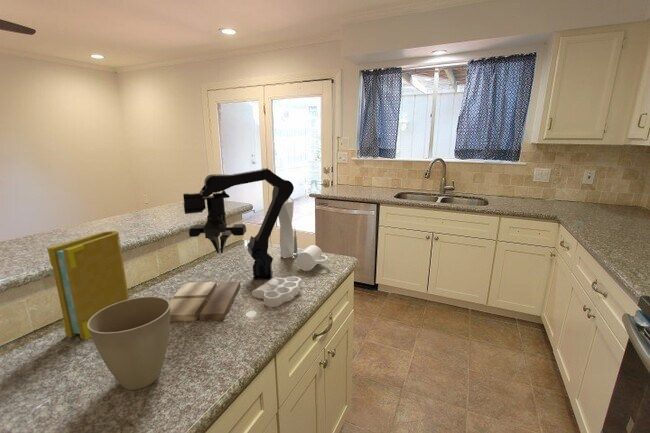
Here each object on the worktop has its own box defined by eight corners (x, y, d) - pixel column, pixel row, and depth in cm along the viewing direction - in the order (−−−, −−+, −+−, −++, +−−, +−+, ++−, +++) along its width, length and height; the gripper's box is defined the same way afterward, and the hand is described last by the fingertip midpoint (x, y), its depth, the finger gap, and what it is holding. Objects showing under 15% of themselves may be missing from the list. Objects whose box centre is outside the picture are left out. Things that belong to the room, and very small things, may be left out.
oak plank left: (206, 303, 102) (205, 297, 101) (195, 320, 92) (194, 314, 92) (171, 304, 101) (170, 298, 101) (156, 321, 92) (155, 315, 91)
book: (86, 339, 83) (69, 249, 78) (65, 336, 85) (47, 248, 79) (136, 307, 99) (124, 231, 94) (118, 305, 101) (105, 230, 95)
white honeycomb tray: (276, 280, 120) (310, 288, 114) (246, 301, 104) (283, 311, 98) (276, 272, 119) (310, 279, 113) (245, 292, 103) (283, 301, 97)
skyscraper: (295, 259, 140) (294, 197, 134) (277, 259, 141) (275, 197, 134) (297, 253, 149) (296, 194, 142) (280, 252, 149) (278, 194, 143)
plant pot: (188, 354, 77) (181, 295, 73) (159, 403, 63) (149, 332, 59) (126, 356, 77) (116, 296, 73) (82, 405, 62) (67, 334, 58)
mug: (296, 269, 129) (295, 251, 127) (306, 261, 138) (305, 244, 136) (323, 273, 125) (323, 254, 123) (331, 265, 134) (331, 247, 132)
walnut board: (240, 286, 114) (240, 281, 113) (224, 319, 92) (223, 313, 92) (219, 287, 114) (218, 281, 113) (197, 320, 92) (197, 314, 92)
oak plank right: (216, 287, 114) (216, 281, 113) (208, 300, 104) (207, 294, 103) (185, 288, 113) (185, 282, 113) (174, 301, 103) (173, 296, 103)
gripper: (180, 216, 102) (185, 262, 105) (238, 215, 103) (241, 260, 106) (192, 209, 113) (197, 250, 116) (245, 208, 114) (247, 249, 117)
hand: (220, 253), depth 114 cm, fingers closed
